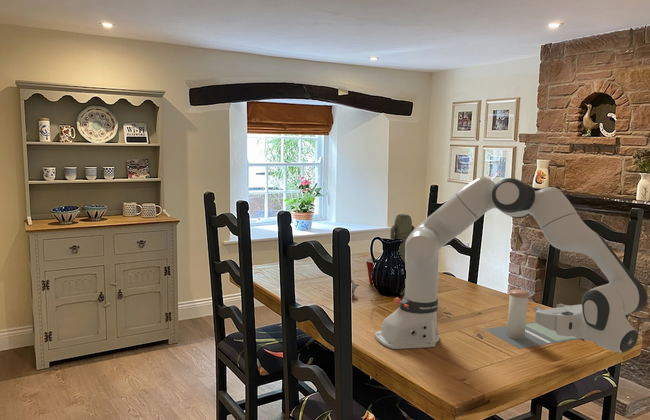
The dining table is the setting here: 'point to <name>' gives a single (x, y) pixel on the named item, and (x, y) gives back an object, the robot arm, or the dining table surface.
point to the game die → (353, 286)
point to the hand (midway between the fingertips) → (546, 307)
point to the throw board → (531, 336)
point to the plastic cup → (369, 269)
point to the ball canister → (517, 314)
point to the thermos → (402, 234)
